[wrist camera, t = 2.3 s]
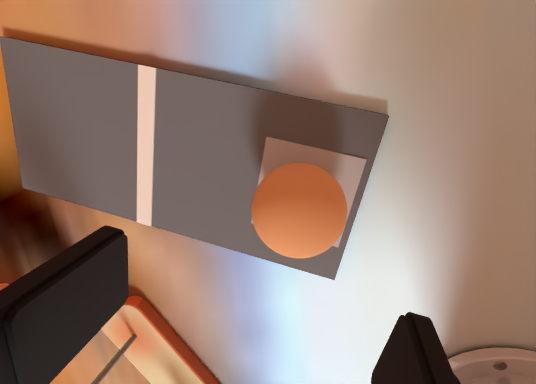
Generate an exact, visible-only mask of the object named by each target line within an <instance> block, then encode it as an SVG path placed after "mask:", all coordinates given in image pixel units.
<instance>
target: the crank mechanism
mask: <svg viewBox="0 0 536 384" xmlns="http://www.w3.org/2000/svg"><path fill="white" fill-rule="evenodd" d="M101 329H102V331H103V332H104V333H105V334H106V335H107V336H108V338H109V339H110V340H111V341H112V342H113V343H114V344H115V345H116V346H117V347H118V348H119V351H118V352H117V354H116V355H115V356H114V357H113V358H112V360H111V361H110V362H109V363H108V364H107V366H106V367H105V368H104V369H103V370H102V372H101V373H100V374H99V375H98V376H97V377H96V379H95V380H94V381H93V382H92V383H91V384H100V382H101V381H102V380H103V379H104V377H105V376H106V375H107V374H108V373H109V371H110V370H111V369H112V368H113V366H114V365H115V364H116V363H117V362H118V360H119V359H120V358H121V357H122V355H123V354H124V355H125V356H126V357H127V358H128V359H129V360H130V361H131V363H132V364H133V365H134V366H135V367H136V368H137V369H138V370H139V371H140V372H141V373H142V375H143V376H144V377H145V378H146V379H147V380H148V381H149V382H150V383H151V384H219V383H218V382H217V381H216V379H215V378H214V377H213V376H212V375H211V374H210V372H209V371H208V370H207V369H206V368H205V367H204V366H203V364H202V363H201V362H200V361H199V360H198V359H197V358H196V356H195V355H194V354H193V353H192V352H191V351H190V350H189V348H188V347H187V346H186V345H185V344H184V343H183V341H182V340H181V339H180V338H179V337H178V336H177V335H176V333H175V332H174V331H173V330H172V329H171V328H170V327H169V325H168V324H167V323H166V322H165V321H164V320H163V319H162V317H161V316H160V315H159V314H158V313H157V312H156V310H155V309H154V308H153V307H152V306H151V305H150V304H149V302H147V301H146V300H145V299H144V298H142V297H140V296H130V297H128V298H127V300H126V302H125V304H124V305H123V306H122V307H121V308H120V309H119V310H118V311H117V312H116V313H115V315H114V316H113V317H112V318H111V319H110V320H109V321H108V322H107V323H106V324H105V325H104V326H103V327H102V328H101Z"/></svg>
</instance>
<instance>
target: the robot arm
mask: <svg viewBox="0 0 536 384" xmlns="http://www.w3.org/2000/svg"><path fill="white" fill-rule="evenodd" d="M127 298H128V242H127V236H126V235H124V232H123V230H121V229H117V228H114V227H110V226H103V227H101V228H100V229H98V230H96V231H95V232H93V233H92V234H90V235H88V236H87V237H85V238H84V239H82V240H80V241H79V242H77V243H76V244H74V245H72V246H71V247H69V248H68V249H66V250H64V251H63V252H61V253H60V254H58V255H56V256H55V257H53V258H51V259H50V260H48V261H47V262H45V263H43V264H42V265H40V266H39V267H37V268H35V269H34V270H32V271H31V272H29V273H27V274H26V275H24V276H23V277H21V278H19V279H18V280H16V281H15V282H13V283H11V284H10V285H8V286H7V287H5V288H3V289H2V290H0V384H49V383H50V382H51V381H52V380H53V379H54V378H55V377H56V376H57V375H58V374H59V373H60V372H61V371H62V370H63V369H64V368H65V366H66V365H67V364H68V363H69V362H70V361H71V360H72V359H73V358H74V357H75V356H76V355H77V354H78V353H79V352H80V351H81V350H82V348H83V347H84V346H85V345H86V344H87V343H88V342H89V341H90V340H91V339H92V338H93V337H94V336H95V335H96V334H97V333H98V331H99V330H100V329H101V328H102V327H103V326H104V325H105V324H106V323H107V322H108V321H109V320H110V319H111V318H112V317H113V316H114V315H115V313H116V312H117V311H118V310H119V309H120V308H121V307H122V306H123V305H124V304H125V302H126V300H127ZM371 384H536V351H530V350H524V349H518V348H486V349H478V350H473V351H469V352H464V353H461V354H459V355H456V356H454V357H451V358H449V359H447V356H446V354H445V352H444V349H443V347H442V344H441V342H440V340H439V337H438V335H437V333H436V330H435V328H434V325H433V323H432V321H431V319H430V318H428V317H425V316H422V315H418V314H415V313H411V312H408V313H407V314H406V315H405V316H404V315H401V316H400V317H399V318H398V320H397V322H396V325H395V327H394V329H393V331H392V333H391V335H390V337H389V339H388V341H387V343H386V345H385V347H384V350H383V352H382V354H381V356H380V358H379V360H378V362H377V364H376V366H375V368H374V370H373V373H372V378H371Z"/></svg>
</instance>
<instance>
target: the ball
mask: <svg viewBox="0 0 536 384" xmlns="http://www.w3.org/2000/svg"><path fill="white" fill-rule="evenodd" d="M347 211H348V210H347V202H346V197H345V194H344V192H343V190H342V188H341V186H340V184H339V183H338V182H337V180H336V179H335V178H334V177H333V176H332V175H331V174H330V173H328V172H327V171H325V170H324V169H322V168H320V167H318V166H316V165H312V164H308V163H291V164H286V165H283V166H280V167H278V168H276V169H274V170H273V171H271V172H270V173H269V174H268V175H266V176H265V177H264V178H263V180H262V181H261V182H260V184H259V185H258V187H257V189H256V191H255V193H254V196H253V200H252V206H251V214H252V221H253V225H254V227H255V230H256V232H257V234H258V235H259V237H260V239H261V240H262V241H263V242H264V243H265V244H266V245H267V246H268V247H269V248H270V249H272V250H273V251H275V252H276V253H279V254H281V255H283V256H286V257H290V258H309V257H314V256H316V255H319V254H321V253H323V252H325V251H326V250H328V249H329V248H330V247H331V246H332V245H334V244H335V242H336V241H337V240H338V239H339V237H340V236H341V234H342V232H343V230H344V227H345V225H346V221H347Z"/></svg>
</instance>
